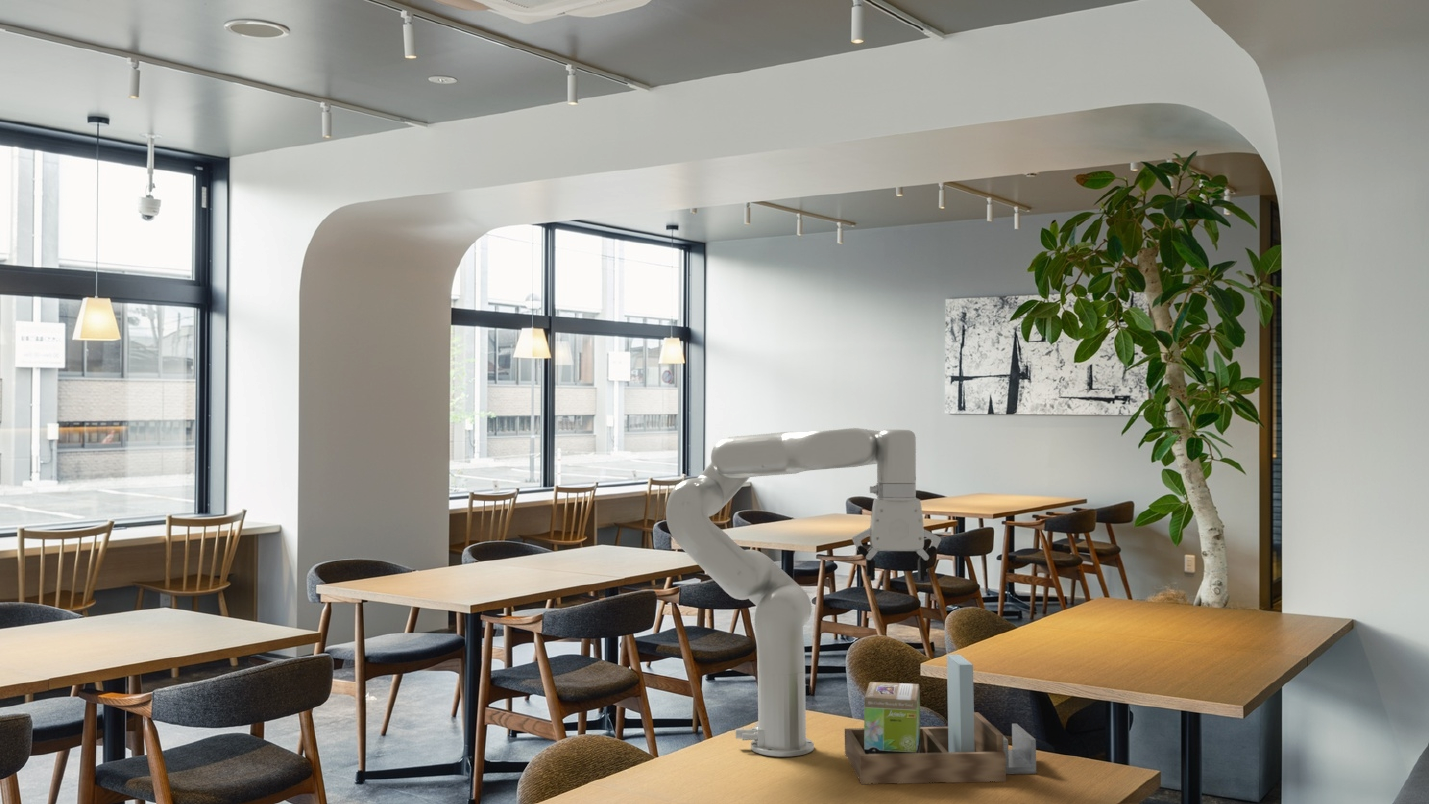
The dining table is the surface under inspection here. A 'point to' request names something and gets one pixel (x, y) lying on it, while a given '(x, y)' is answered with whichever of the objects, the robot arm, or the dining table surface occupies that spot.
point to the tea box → (892, 718)
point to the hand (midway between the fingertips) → (896, 580)
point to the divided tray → (932, 758)
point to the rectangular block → (960, 704)
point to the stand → (1020, 752)
